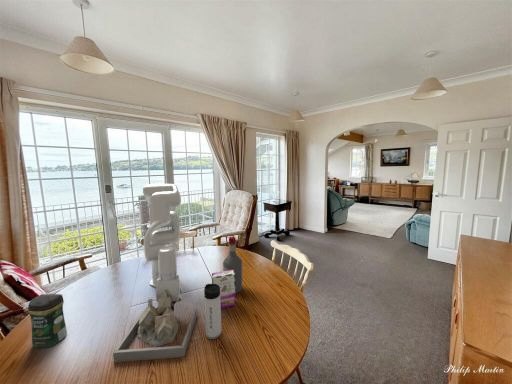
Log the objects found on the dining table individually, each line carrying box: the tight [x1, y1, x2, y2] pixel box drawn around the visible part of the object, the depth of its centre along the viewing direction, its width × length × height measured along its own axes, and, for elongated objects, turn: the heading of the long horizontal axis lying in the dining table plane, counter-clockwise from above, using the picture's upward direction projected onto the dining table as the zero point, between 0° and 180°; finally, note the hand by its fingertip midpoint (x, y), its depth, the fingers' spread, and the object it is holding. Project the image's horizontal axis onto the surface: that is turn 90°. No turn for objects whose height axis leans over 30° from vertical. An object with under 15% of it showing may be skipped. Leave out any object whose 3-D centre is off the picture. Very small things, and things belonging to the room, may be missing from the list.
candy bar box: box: [211, 270, 237, 309], centre depth 101 cm, size 11×5×16 cm, turn 105°
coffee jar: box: [27, 293, 68, 348], centre depth 80 cm, size 10×8×19 cm
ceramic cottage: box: [136, 291, 179, 347], centre depth 84 cm, size 16×16×15 cm
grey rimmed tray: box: [112, 307, 198, 363], centre depth 83 cm, size 22×24×4 cm
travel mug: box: [203, 283, 222, 340], centre depth 83 cm, size 6×7×20 cm
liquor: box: [222, 236, 244, 294], centre depth 114 cm, size 9×9×30 cm
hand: (170, 313), depth 94 cm, fingers closed
